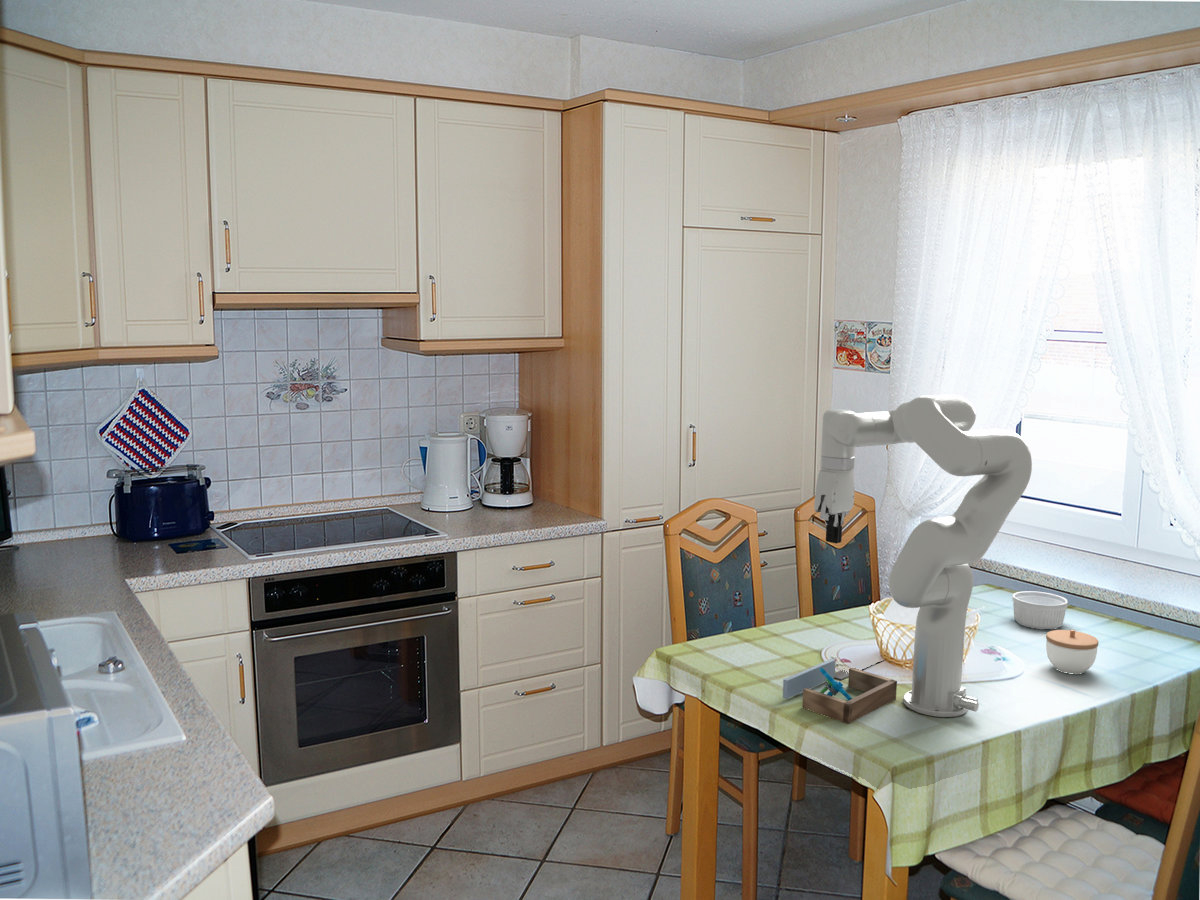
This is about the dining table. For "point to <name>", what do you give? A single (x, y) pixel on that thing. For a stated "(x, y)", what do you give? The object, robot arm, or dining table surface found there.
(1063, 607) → the ramekin
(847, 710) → the frame
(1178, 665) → the dining table surface
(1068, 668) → the lidded jar
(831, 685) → the blue toy model
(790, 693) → the gate
